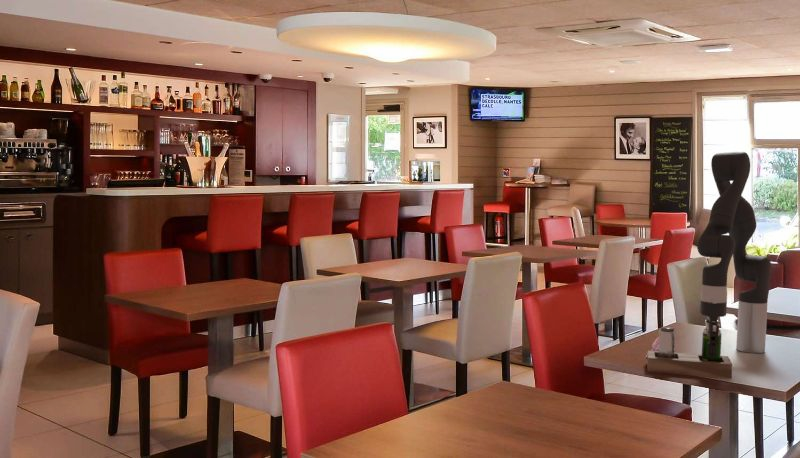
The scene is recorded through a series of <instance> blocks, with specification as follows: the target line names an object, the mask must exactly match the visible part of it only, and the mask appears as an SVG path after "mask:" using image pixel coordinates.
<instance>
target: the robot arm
mask: <svg viewBox="0 0 800 458" xmlns="http://www.w3.org/2000/svg"><path fill="white" fill-rule="evenodd" d="M710 163H711V165H710V166H711V171H712V172H711V173H712V177H713V179H714V182H715V186H716V188H717V191H718V194H719V197H718V198H717V199H716V200H715V201H714V203H713V205H712V207H711V210H710V215H709V220H708V223H707V225H706V227H705V229H704V230H703V231H702V233H701V234H700V236H699V238H698V241H697V243H696V244H697V245H696V248H697V252H698V254H699V255H700V256H701V257H703V258H704V257H705V258H715V259H716V258H717V259H720V260H719V262H718V263H715V264H714V263H713V264H708V265H705V266H704V267H703V268H702V280H701V281H702V282H701V289H700V302H699V303H700V304H699V305H700V307H699V314H700V315H701V316H704V317H706V319H705V320H704V321H705V322H704V324H705V325H704V326H705V329H707V337H708V344H709V345H708V356H709V357H716V345H717V344H718V337H719V330H720V327H721V322H720V320H719V319H718V318H723V317H726V316H727V304H728V303H727V302H728V288H727V285H728V273H729V268H730V267H729V266H730V264H731V260H732V259H733V265H734V267H733V268H734V272H735V275H736V277H737V279H738V280H740V281H743V282H751V283H755V286H754V287H753V288H751V289H748V290H744V291H740V292H739V293H738V305H737V306H738V308H737V327H736V329H737V330H736V347H735V348H736V350H738V351H740V352H743V353H744V352H745V353H750V354H762V353H765V352H766V339H767V338H766V337H767V324H768V323H767V321H768V320H767V319H768V317H767V316H768V299H769V293H770V292H769V291H770V283H771V276H772V275H771V272H772V262H771V259H770V257H768V256H765V255H754V254H748V252H747V249H746V247H747V245H748V243H749V241H750V240H751V238H752V237H753V235H754V233H755V231H756V229H757V220H756V216H755V215H756V214H755V210H754V208H753V206H752V205H751V204H750V202H749V201H748V200H746V198H745V197H743V193H744V189H745V187H746V184H747V182H748V179H749V177H750V171H751V159H750V156H749V154H748V153H747V152H746V151H730V152H729V151H728V152H718V153H715V154H713V156H712V158H711V162H710ZM709 331H710V333H709ZM711 337H715V340H711Z"/></svg>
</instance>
